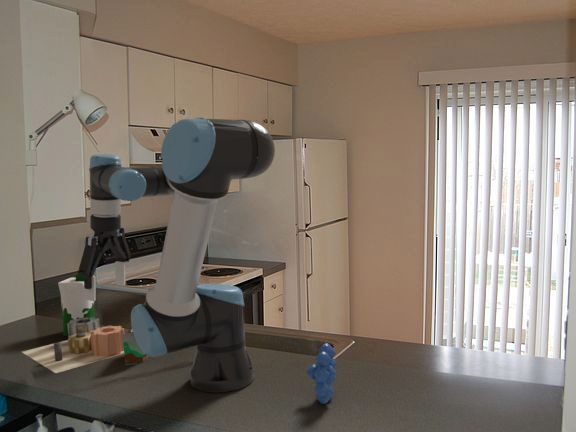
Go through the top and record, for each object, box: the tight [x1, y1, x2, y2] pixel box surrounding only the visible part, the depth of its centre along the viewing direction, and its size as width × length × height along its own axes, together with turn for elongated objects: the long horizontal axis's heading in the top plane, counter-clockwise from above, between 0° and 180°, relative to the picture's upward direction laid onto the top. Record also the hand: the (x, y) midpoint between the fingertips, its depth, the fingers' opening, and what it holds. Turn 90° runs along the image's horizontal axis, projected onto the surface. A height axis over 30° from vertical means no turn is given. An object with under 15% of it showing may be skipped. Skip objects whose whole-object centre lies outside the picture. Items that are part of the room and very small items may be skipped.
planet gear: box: [91, 325, 125, 357], centre depth 152 cm, size 8×8×6 cm
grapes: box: [306, 342, 338, 405], centre depth 120 cm, size 12×7×12 cm, turn 164°
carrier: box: [21, 332, 124, 374], centre depth 154 cm, size 24×24×6 cm
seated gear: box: [67, 317, 101, 338], centre depth 161 cm, size 8×8×6 cm
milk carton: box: [57, 272, 96, 337], centre depth 170 cm, size 9×9×20 cm
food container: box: [122, 327, 151, 366], centre depth 145 cm, size 12×6×10 cm, turn 179°
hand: (106, 292), depth 148 cm, fingers open, 13 cm apart
